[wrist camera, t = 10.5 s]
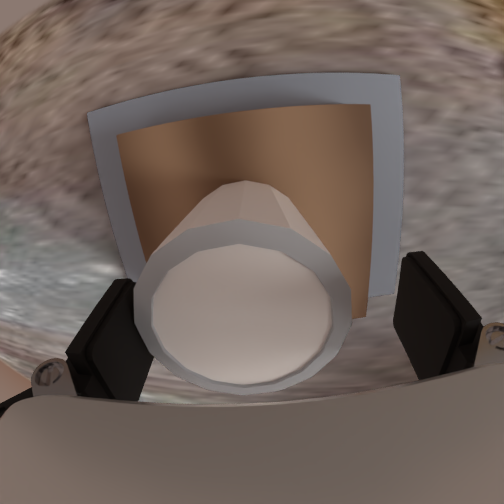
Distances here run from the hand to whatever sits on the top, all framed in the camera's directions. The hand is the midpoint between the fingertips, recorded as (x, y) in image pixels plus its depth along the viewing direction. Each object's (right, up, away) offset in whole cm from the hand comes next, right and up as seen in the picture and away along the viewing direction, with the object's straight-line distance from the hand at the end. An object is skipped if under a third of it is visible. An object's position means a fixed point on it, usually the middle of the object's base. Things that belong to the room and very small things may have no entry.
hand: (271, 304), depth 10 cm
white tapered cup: (-1, +3, +5) cm, 6 cm away
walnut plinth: (0, +5, +10) cm, 11 cm away
